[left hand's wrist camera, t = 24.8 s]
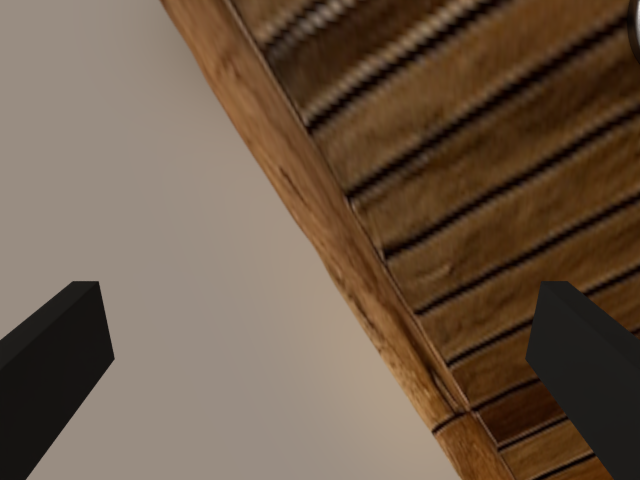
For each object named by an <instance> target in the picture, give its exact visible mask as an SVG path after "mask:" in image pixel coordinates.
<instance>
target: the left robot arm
mask: <svg viewBox="0 0 640 480" xmlns="http://www.w3.org/2000/svg"><path fill="white" fill-rule="evenodd" d="M627 27H628V37H629V41H630V45H631V48H632V51H633V53H634V55H635V57H636V59H637V61H638V62H639V64H640V0H630V2H629V8H628V18H627ZM114 359H115V358H114V353H113V349H112V343H111V339H110V334H109V329H108V324H107V319H106V315H105V310H104V305H103V300H102V295H101V290H100V286H99V282H98V281H73V282H71V283H70V284H69V285H68V286H66V287H65V288H64V289H63V290H61V291H60V292H59V293H58V294H57V295H55V296H54V297H53V298H52V299H50V300H49V301H48V302H47V303H46V304H44V305H43V306H42V307H41V308H39V309H38V310H37V311H36V312H34V313H33V314H32V315H31V316H30V317H28V318H27V319H26V320H25V321H23V322H22V323H21V324H20V325H18V326H17V327H16V328H15V329H14V330H12V331H11V332H10V333H9V334H7V335H6V336H5V337H4V338H3V339H1V340H0V480H26V479H27V477H28V476H29V475H30V473H31V472H32V471H33V469H34V468H35V466H36V465H37V464H38V462H39V461H40V460H41V458H42V457H43V456H44V454H45V453H46V452H47V450H48V449H49V447H50V446H51V445H52V443H53V442H54V441H55V439H56V438H57V437H58V435H59V434H60V433H61V431H62V430H63V428H64V427H65V426H66V424H67V423H68V422H69V420H70V419H71V418H72V416H73V415H74V414H75V412H76V411H77V409H78V408H79V407H80V405H81V404H82V403H83V401H84V400H85V399H86V397H87V396H88V394H89V393H90V392H91V390H92V389H93V388H94V386H95V385H96V384H97V382H98V381H99V380H100V378H101V377H102V375H103V374H104V373H105V371H106V370H107V369H108V367H109V366H110V365H111V363H112V362H113V361H114ZM525 359H526V361H527V362H528V363H529V365H530V366H531V367H532V369H533V370H534V371H535V373H536V374H537V375H538V377H539V378H540V380H541V381H542V382H543V384H544V385H545V386H546V388H547V389H548V390H549V392H550V393H551V395H552V396H553V397H554V399H555V400H556V401H557V403H558V404H559V405H560V407H561V408H562V409H563V411H564V412H565V414H566V415H567V416H568V418H569V419H570V420H571V422H572V423H573V424H574V426H575V427H576V428H577V430H578V431H579V433H580V434H581V435H582V437H583V438H584V439H585V441H586V442H587V443H588V445H589V446H590V447H591V449H592V450H593V452H594V453H595V454H596V456H597V457H598V458H599V460H600V461H601V462H602V464H603V465H604V466H605V468H606V469H607V471H608V472H609V473H610V475H611V476H612V477H613V479H614V480H640V340H639V339H638V338H636V337H635V336H634V335H633V334H631V333H630V332H629V331H628V330H626V329H625V328H624V327H623V326H622V325H620V324H619V323H618V322H617V321H615V320H614V319H613V318H612V317H610V316H609V315H608V314H607V313H606V312H604V311H603V310H602V309H601V308H599V307H598V306H597V305H596V304H595V303H593V302H592V301H591V300H590V299H588V298H587V297H586V296H585V295H583V294H582V293H581V292H580V291H579V290H577V289H576V288H575V287H574V286H572V285H571V284H570V283H569V282H567V281H541V286H540V290H539V295H538V300H537V305H536V310H535V314H534V319H533V324H532V329H531V334H530V339H529V343H528V348H527V353H526V358H525Z"/></svg>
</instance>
